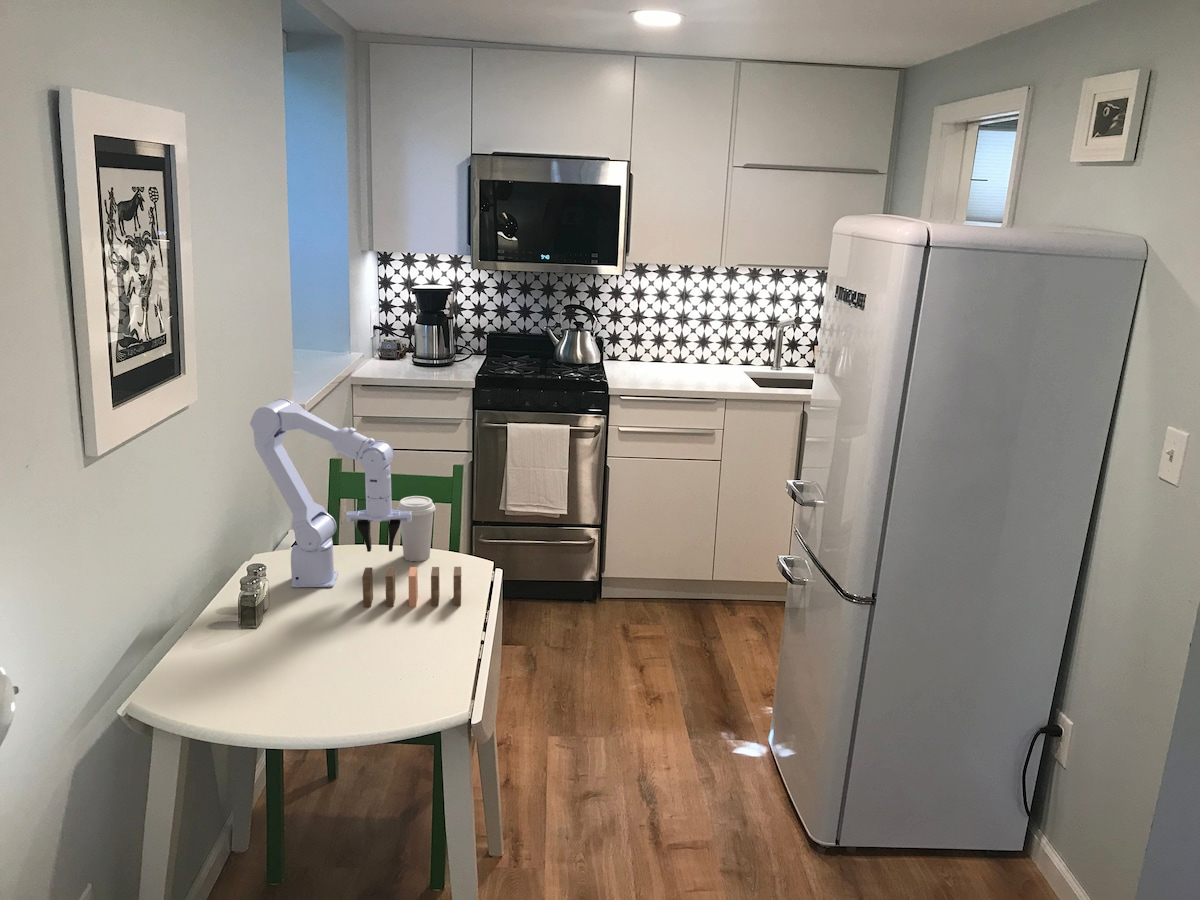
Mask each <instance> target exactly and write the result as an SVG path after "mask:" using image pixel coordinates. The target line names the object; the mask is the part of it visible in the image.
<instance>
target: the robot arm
mask: <svg viewBox="0 0 1200 900" xmlns="http://www.w3.org/2000/svg"><path fill="white" fill-rule="evenodd" d="M249 425H250V426H251V429H252V430H253V440H254V447H255V449H256V452H257V453H258V455H259V456H260V459H261V460H262V462H263V464H264V465H265V467H266V469H267V471H268V473H269V474H270V476H271V478H272V479H273V481H274V484H275V485H276V486H277V488H278V490H279V492H280V494H281V496H282V497H283V499H284V501H285V503H286V505H287V506H288V508H289V510H290V512H291V514H292V519H291V520H292V521H291V528H292V531H293V533H294V540H295V542H296V544H297V545H293V546H292V547H291V553H290V569H291V573H290V574H291V588H333V587H334V585H335V582H336V580H337V577H338V574H339V572H338V571H335V566H334V548H333V547H334V543H333V536H334V534H335V533H336V531H337V528H338V527H337V522H336V520H335V518H334V517H333V516H332V515H331V514H329V513H328V512H327V510H326V509H325V508H324V506H323V505H321V504H318V503H316V502H315V501H314V499H313V497H312V495H311V494H310V492H309V490H308V488H307V486H306V485H305V483H304V482H303V480H302V478H301V476H300V474H299V472H298V470H297V469H296V467H295V465H294V463H293V462H292V460H291V458H290V456H289V454H288V453H287V451H286V449H285V447H284V446H283V440H284V438H285V435H286V433H287V431H293V430H298V429H299V430H301V431H304V432H306V433H308V434H311V435H313V436H316V437H318V438H320V439H322V440H325V441H328V442H330V443H331V445H332V447H333V449H334V451H336V452H338V453H340V454H343V455H344V456H346V457H349V458H351V459H353V460H355V461H356V462H359V463H360V465H361V466H362V467H361V468H363V470H364V475H365V476H364V479H365V480H364V481H365V482H364V483H365V486H364V487H365V509H363V510H354V511H352V510H351V511H346V513H345V514H346V515H345V518H346V523H352V522H357V525H356V527H357V530H358V531H359V533H360V534H361V536H362V538H363V540H364V543H365V546H366V551H367V552H368V553H370V552H371V551H372V538H371V522H374V523H380V522H388V528H387V529H388V552H389V553H390V552H393V547H394V541H395V538H396V535H397V533H398V531H399V528H400V522H401V521H406V522H411V520H412V512H411V511H399V510H397V509H393V507H392V506H393V505H392V504H393V503H392V501H393V500H392V475H391V467H392V466H391V463H392V461H393V460H394V458H395V452H394V449H393V446H392V445H390V443H388V442H387V441H385V440H382V439H381V440H380V439H379V440H375V439H374V438H373V437H370V438H369V437H367V436H365V435H363V434H361V433H359V432H356V431H357V429H356V428H354V427H346V426H345V427H343V428H337V427H336V426H334V425H332V424H331V423H329V422H327V421H325V420H324V419H322V418H320V417H319V416H316V415H314V414H313V413H311V412H309V411H308V410H306V409H304V408H303V407H302V406H301V405H300V404H299V403H296V402H293V401H292V400H289V399H288V398H283V397H282V398H281V397H280V398H278V399H275V400H273V401H272V402H270V403H269V404H266V405H264V406H261V407H258V408H257V409H255V411H254V412H253V415H252V416H251V420H250V422H249Z"/></svg>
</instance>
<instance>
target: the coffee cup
mask: <svg viewBox="0 0 1200 900" xmlns="http://www.w3.org/2000/svg"><path fill="white" fill-rule="evenodd" d="M396 510H399V511H411V512H412V520H411V522H406V521H401V522H400V526H399V528H400V535H401V543H402V552H403V558H405V560H406V561H408V560H409V561H408V562H412V561H418V562H423V561H427V560H428V559H430V557H431V556H430V555H431V547H432V546H431V544H432V533H433V523H434V521H433V519H434V512H435V511H436V506H435V504H434V502H433V499H431V498H430V497H428V496H422V495H412V496H406V497H403V498H401V499H400V500H399V503H398V505H397V507H396Z"/></svg>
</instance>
